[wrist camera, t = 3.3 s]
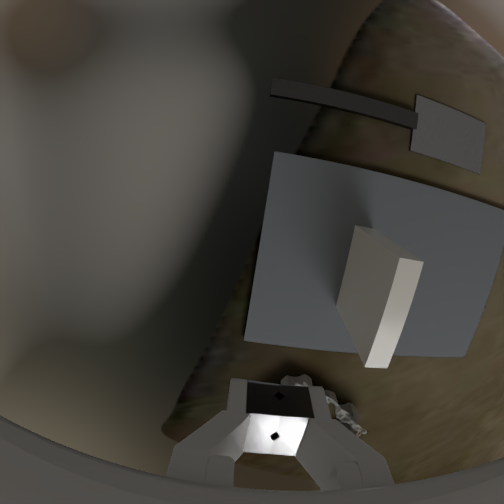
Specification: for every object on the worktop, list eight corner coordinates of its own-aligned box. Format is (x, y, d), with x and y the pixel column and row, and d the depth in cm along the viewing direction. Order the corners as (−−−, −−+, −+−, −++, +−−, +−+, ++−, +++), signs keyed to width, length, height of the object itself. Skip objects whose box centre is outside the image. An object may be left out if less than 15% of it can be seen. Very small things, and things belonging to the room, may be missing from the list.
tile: (373, 228, 25) (424, 262, 16) (353, 308, 26) (387, 368, 18) (355, 225, 25) (399, 257, 16) (335, 305, 26) (364, 367, 18)
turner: (484, 123, 22) (490, 123, 21) (478, 174, 24) (484, 175, 23) (275, 60, 22) (276, 56, 21) (266, 118, 23) (266, 116, 22)
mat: (507, 211, 24) (511, 212, 24) (461, 354, 28) (464, 356, 28) (274, 151, 24) (274, 151, 23) (244, 337, 28) (243, 340, 28)
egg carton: (364, 408, 31) (374, 434, 27) (314, 444, 32) (318, 469, 29) (299, 361, 29) (303, 388, 25) (246, 403, 31) (244, 431, 27)
